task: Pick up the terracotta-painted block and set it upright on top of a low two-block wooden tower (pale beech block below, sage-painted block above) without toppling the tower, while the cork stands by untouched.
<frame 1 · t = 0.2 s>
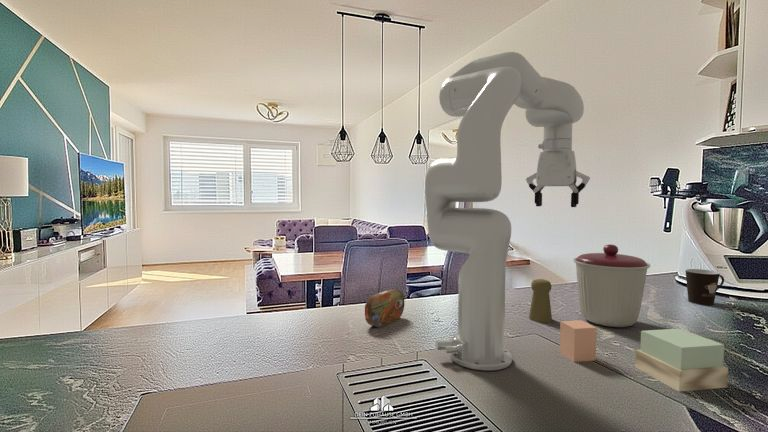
hand: (555, 206, 118), 31 cm above the countertop, tool pointing down, fingers open, 9 cm apart
cork: (540, 319, 113), on the countertop
canister: (608, 322, 111), on the countertop
bottom block: (678, 378, 78), on the countertop, touching top block
top block: (679, 358, 77), point 4 cm above the countertop, touching bottom block
terracotta block: (577, 356, 87), on the countertop
tin: (384, 323, 110), on the countertop
coffee mug: (706, 303, 130), on the countertop
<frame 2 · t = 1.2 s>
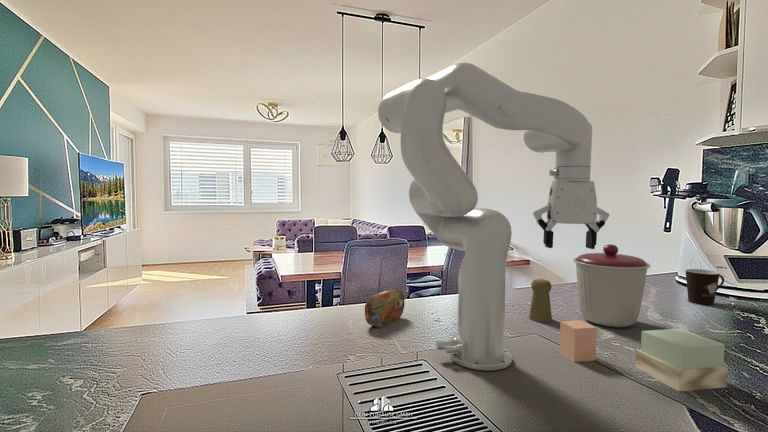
hand: (569, 247, 96), 22 cm above the countertop, tool pointing down, fingers open, 9 cm apart
nothing on the countertop moved.
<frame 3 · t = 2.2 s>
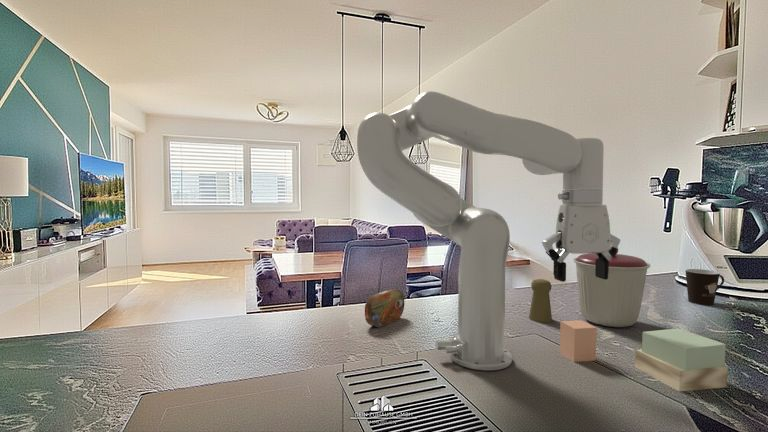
hand: (580, 279, 86), 17 cm above the countertop, tool pointing down, fingers open, 9 cm apart
nothing on the countertop moved.
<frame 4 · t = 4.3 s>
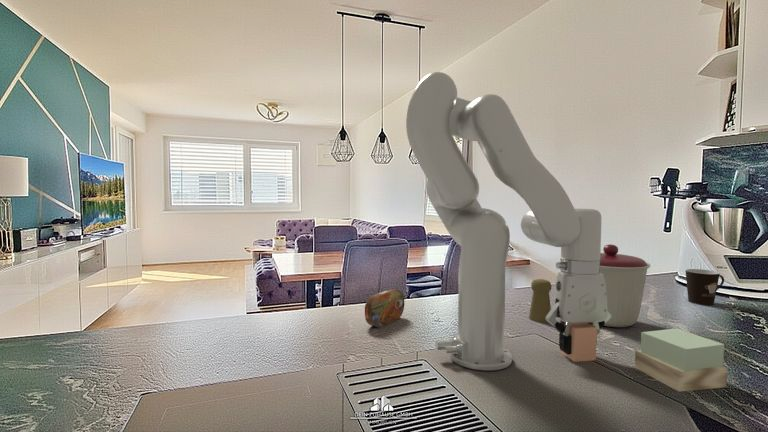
hand: (577, 350, 87), 1 cm above the countertop, tool pointing down, fingers closed on terracotta block, 5 cm apart
bottom block: (678, 379, 78), on the countertop
top block: (680, 358, 77), point 3 cm above the countertop
terracotta block: (577, 356, 87), on the countertop, touching gripper
everything else where it was.
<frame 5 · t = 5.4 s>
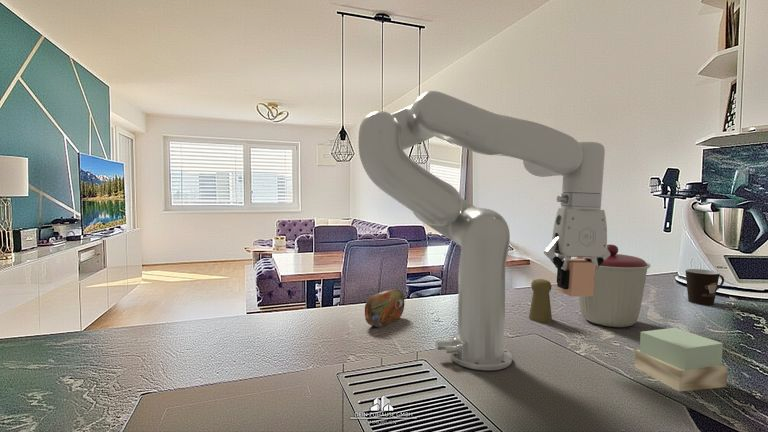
hand: (575, 287, 86), 15 cm above the countertop, tool pointing down, fingers closed on terracotta block, 5 cm apart
terracotta block: (574, 293, 86), point 14 cm above the countertop, touching gripper
everything else where it was.
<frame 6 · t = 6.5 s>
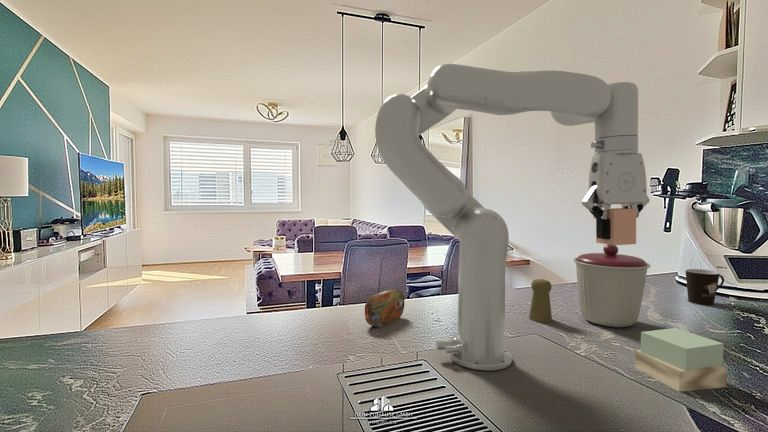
hand: (615, 236, 83), 26 cm above the countertop, tool pointing down, fingers closed on terracotta block, 5 cm apart
bottom block: (678, 378, 78), on the countertop, touching top block
top block: (679, 358, 78), point 4 cm above the countertop, touching bottom block
terracotta block: (615, 243, 83), point 25 cm above the countertop, touching gripper
everything else where it was.
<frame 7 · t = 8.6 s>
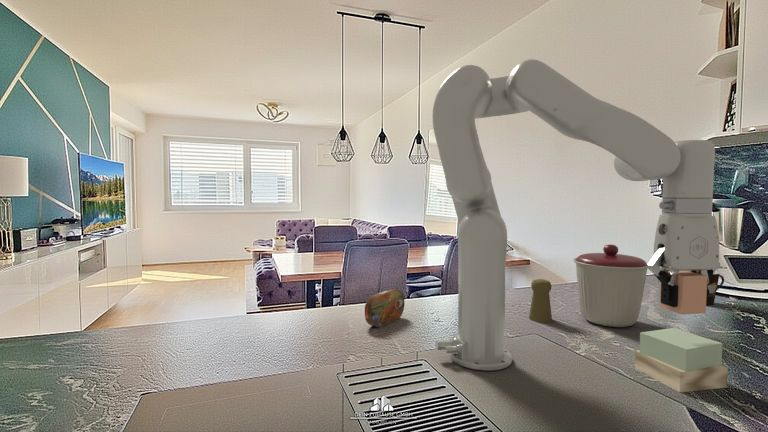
hand: (682, 303, 77), 14 cm above the countertop, tool pointing down, fingers closed on terracotta block, 5 cm apart
terracotta block: (681, 309, 77), point 13 cm above the countertop, touching gripper
everything else where it was.
when the fingers open (10 cm above the countertop, at t = 9.7 s): terracotta block drops 2 cm, resting on top block.
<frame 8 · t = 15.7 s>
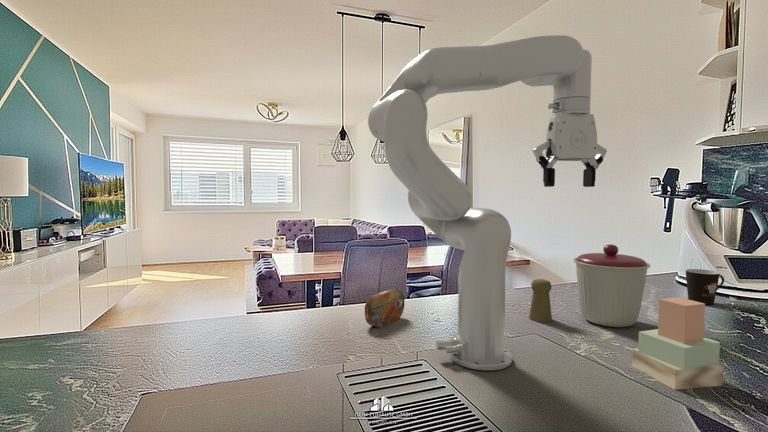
hand: (569, 186, 91), 36 cm above the countertop, tool pointing down, fingers open, 9 cm apart
top block: (677, 357, 78), point 4 cm above the countertop, touching bottom block, terracotta block
terracotta block: (680, 337, 77), point 8 cm above the countertop, touching top block
at the end: terracotta block inside the target area on the top block (0.5 cm from its centre), point 4.0 cm above the top block's base; terracotta block tilted 0°; top block moved 0.9 cm from its start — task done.
